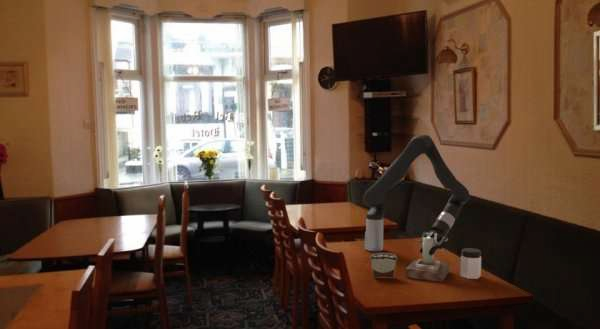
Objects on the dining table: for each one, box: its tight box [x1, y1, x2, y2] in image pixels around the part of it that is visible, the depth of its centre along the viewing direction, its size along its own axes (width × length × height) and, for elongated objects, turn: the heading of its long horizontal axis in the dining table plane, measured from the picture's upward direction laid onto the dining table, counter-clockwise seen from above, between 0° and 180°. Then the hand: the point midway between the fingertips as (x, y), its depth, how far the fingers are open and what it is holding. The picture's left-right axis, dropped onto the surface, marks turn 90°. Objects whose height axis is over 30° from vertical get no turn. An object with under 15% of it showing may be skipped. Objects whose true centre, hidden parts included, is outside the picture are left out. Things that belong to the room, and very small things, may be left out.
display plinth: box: [405, 258, 450, 283], centre depth 232 cm, size 16×16×6 cm
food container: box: [369, 252, 398, 279], centre depth 231 cm, size 12×6×10 cm, turn 84°
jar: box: [460, 247, 482, 280], centre depth 230 cm, size 9×8×12 cm
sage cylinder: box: [421, 237, 435, 264], centre depth 232 cm, size 5×5×11 cm
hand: (425, 253), depth 231 cm, fingers closed on sage cylinder, 5 cm apart
